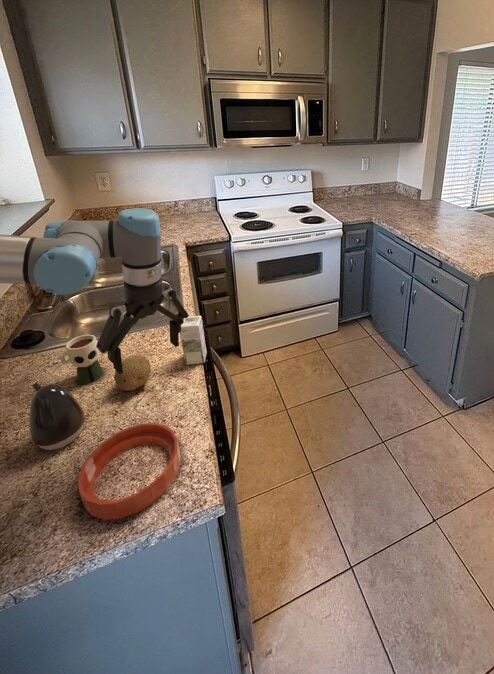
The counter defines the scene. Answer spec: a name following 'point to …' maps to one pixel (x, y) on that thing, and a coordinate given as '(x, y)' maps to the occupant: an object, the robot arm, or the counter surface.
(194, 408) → the counter surface
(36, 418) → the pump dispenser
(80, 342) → the character mug
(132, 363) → the natural sponge
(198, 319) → the syrup box
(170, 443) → the orange rubber ring
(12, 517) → the counter surface
